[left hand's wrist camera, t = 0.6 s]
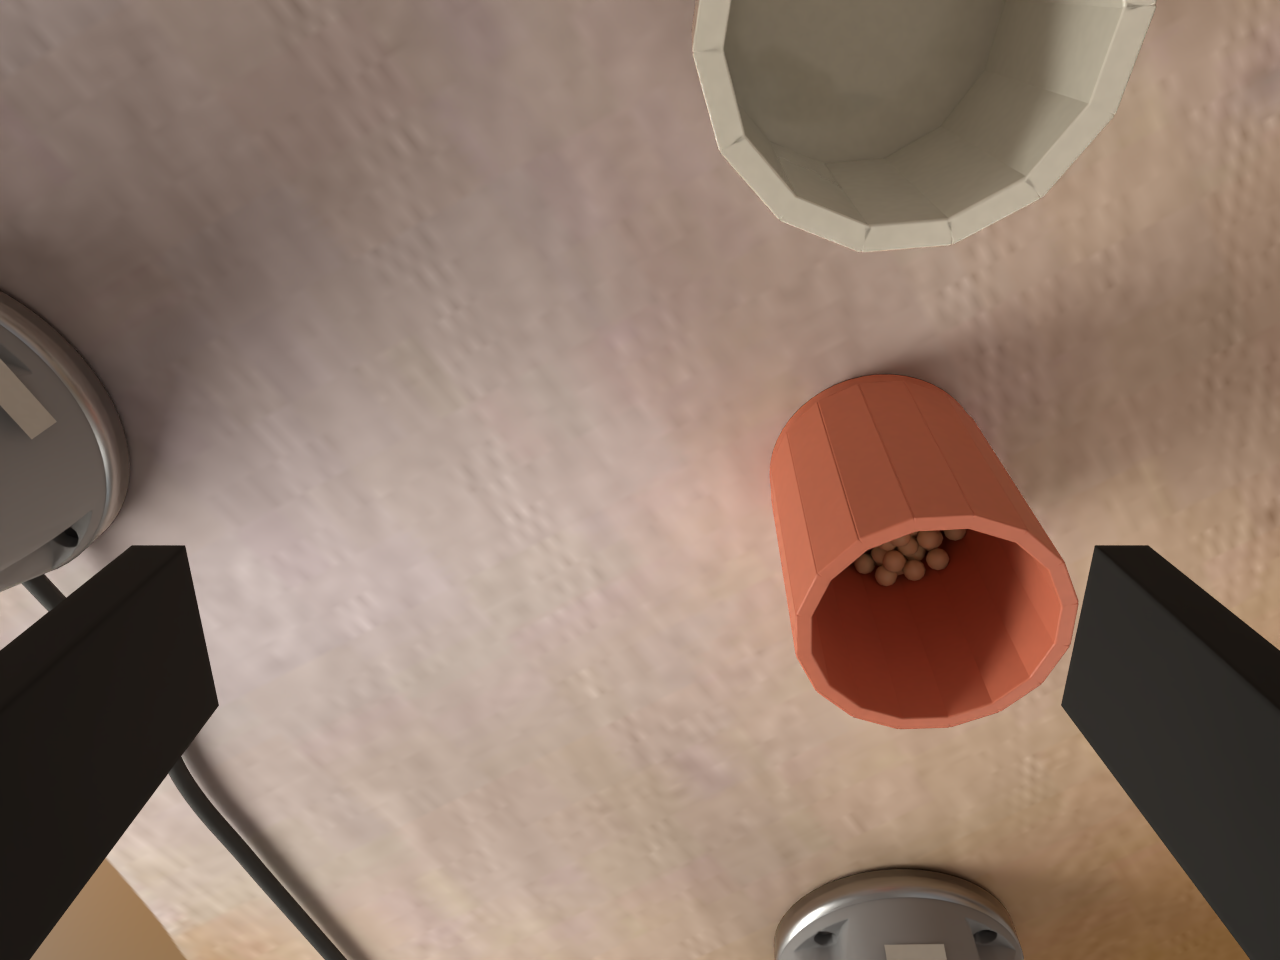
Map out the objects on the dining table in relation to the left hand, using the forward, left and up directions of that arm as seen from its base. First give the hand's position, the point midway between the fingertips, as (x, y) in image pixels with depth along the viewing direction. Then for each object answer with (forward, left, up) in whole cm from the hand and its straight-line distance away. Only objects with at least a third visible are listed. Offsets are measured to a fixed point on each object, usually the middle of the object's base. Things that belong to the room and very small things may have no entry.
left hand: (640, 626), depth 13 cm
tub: (+6, -7, -25) cm, 26 cm away
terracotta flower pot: (-12, -8, -25) cm, 29 cm away
